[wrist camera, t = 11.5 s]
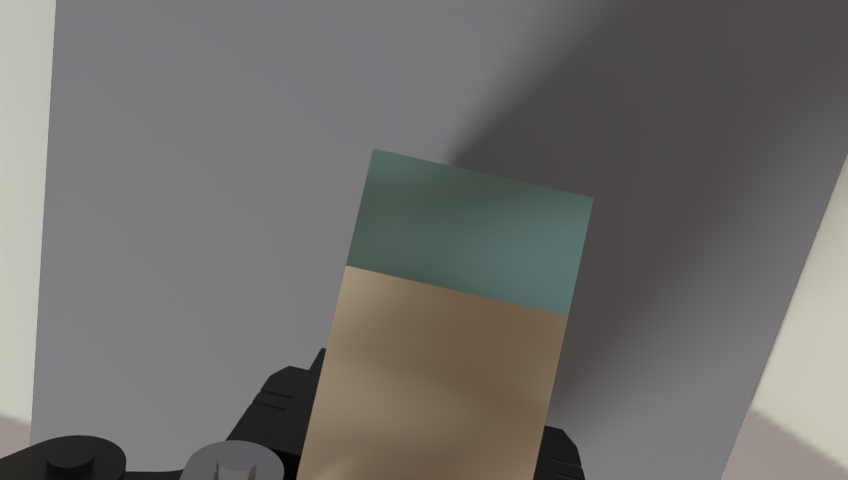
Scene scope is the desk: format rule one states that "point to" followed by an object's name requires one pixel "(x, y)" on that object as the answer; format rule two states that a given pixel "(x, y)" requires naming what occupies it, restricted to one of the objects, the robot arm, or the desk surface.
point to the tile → (445, 326)
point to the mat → (442, 143)
